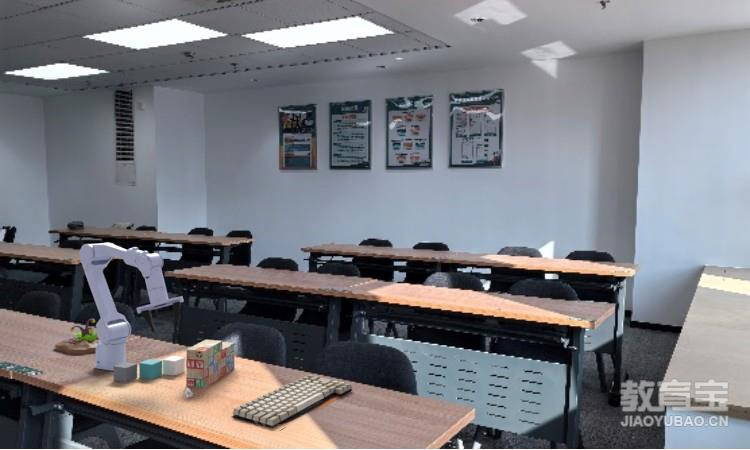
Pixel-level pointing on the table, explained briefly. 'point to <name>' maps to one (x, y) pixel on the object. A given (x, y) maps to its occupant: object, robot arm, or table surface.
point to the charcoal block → (125, 372)
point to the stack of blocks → (208, 362)
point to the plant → (80, 342)
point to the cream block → (173, 365)
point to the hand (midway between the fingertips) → (166, 329)
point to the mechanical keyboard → (291, 401)
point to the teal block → (150, 369)
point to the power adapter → (188, 393)
